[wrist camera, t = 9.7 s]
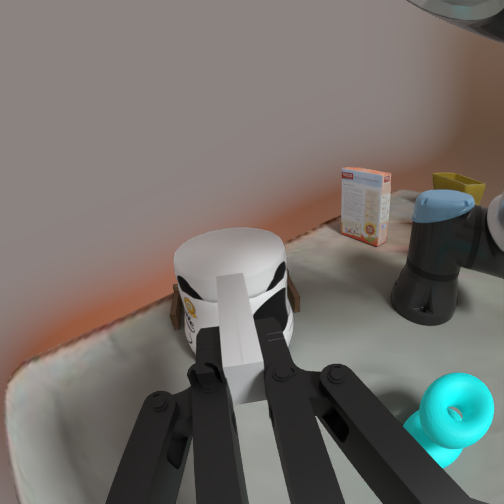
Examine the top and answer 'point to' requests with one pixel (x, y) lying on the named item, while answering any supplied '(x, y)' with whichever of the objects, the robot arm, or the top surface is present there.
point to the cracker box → (365, 204)
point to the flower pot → (459, 185)
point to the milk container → (232, 262)
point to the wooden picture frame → (178, 303)
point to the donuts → (451, 416)
